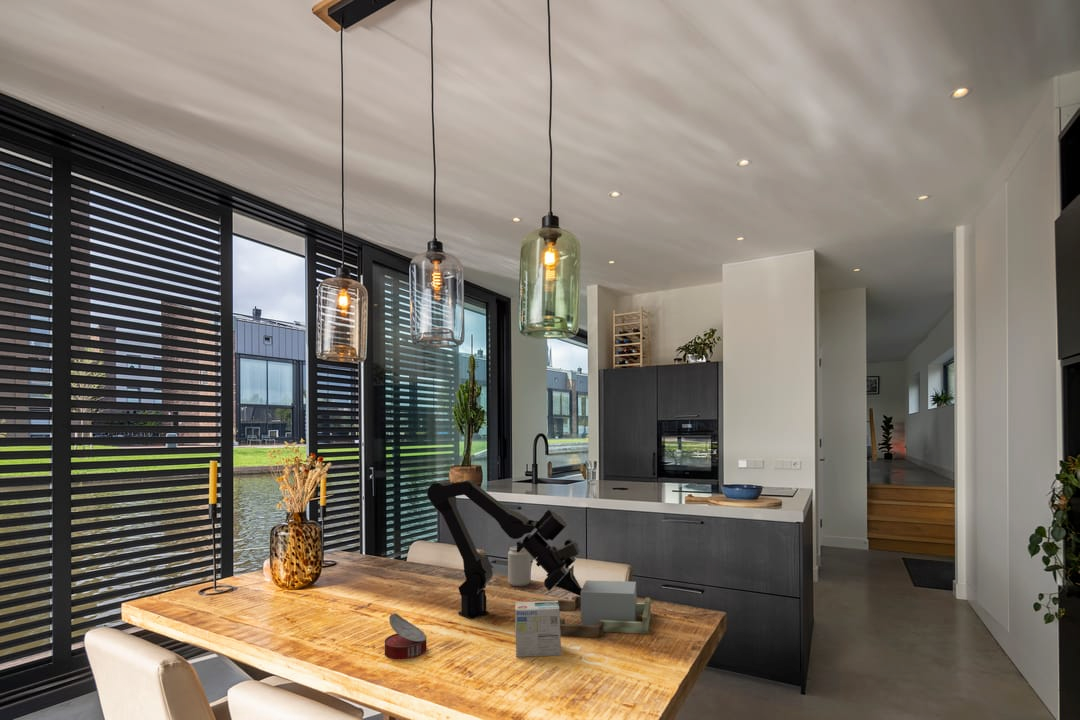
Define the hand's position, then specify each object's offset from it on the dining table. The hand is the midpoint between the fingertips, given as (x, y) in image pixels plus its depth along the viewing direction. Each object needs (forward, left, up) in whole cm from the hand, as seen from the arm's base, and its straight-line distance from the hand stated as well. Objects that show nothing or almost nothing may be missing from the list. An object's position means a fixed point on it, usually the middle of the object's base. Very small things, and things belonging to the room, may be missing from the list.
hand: (582, 594), depth 166 cm
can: (+12, +41, -7) cm, 43 cm away
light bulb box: (-24, -8, -7) cm, 26 cm away
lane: (+1, -2, -7) cm, 7 cm away
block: (+5, -6, -7) cm, 10 cm away
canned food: (-46, +15, -7) cm, 49 cm away
